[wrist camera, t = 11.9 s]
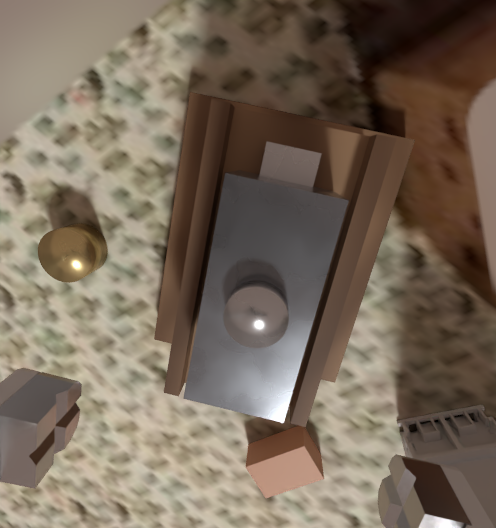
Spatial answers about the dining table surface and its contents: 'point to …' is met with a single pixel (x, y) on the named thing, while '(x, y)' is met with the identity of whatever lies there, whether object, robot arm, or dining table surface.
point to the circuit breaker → (458, 448)
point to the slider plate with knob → (263, 283)
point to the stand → (328, 177)
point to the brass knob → (72, 252)
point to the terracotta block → (284, 461)
